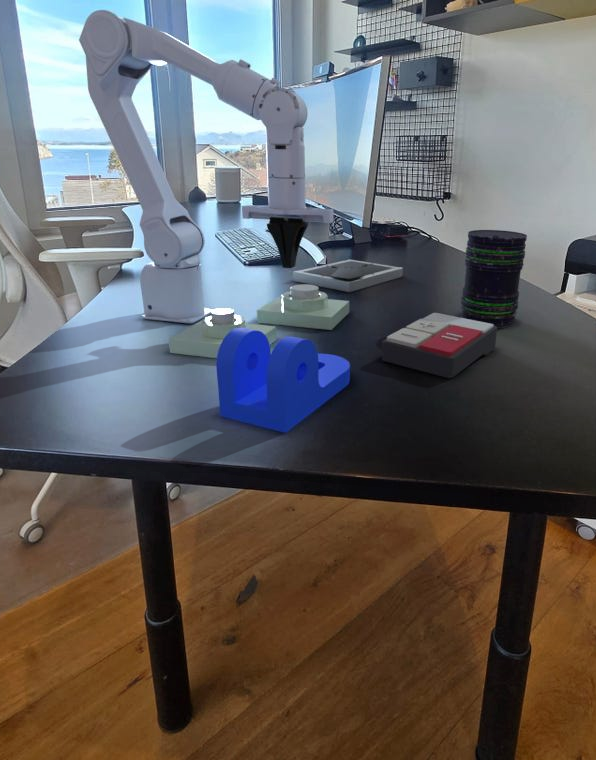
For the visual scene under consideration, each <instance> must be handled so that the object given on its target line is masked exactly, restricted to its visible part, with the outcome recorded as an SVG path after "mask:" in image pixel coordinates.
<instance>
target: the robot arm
mask: <svg viewBox="0 0 596 760" xmlns="http://www.w3.org/2000/svg"><path fill="white" fill-rule="evenodd" d="M78 41H79V44H80V47H81V48H82V50H83V52H84V55H85V62H86V63H85V65H86V79H87V81H86V82H87V90H88V94H89V97H90V99H91V101H92V103H93V106H94V108H95V110H96V112H97V114H98V117H99V119H100V121H101V123H102V125H103V127H104V130H105V132H106V134H107V136H108V138H109V140H110V142H111V145H112V147H113V149H114V151H115V153H116V155H117V157H118V160H119V162H120V164H121V166H122V168H123V170H124V173H125V175H126V177H127V180H128V181H129V183H130V186H131V188H132V190H133V192H134V195H135V196H136V199H137V201H138V202H139V206H140V207H141V210H142V213H141V216H140V221H139V227H140V229H141V231H142V234H143V246H144V250H145V253H146V255H147V257H148V258H149V259H150V260H151V261H152V262H148V263H146V264H145V265H144V266H143V268H141V272H140V276H139V284H140V291H141V298H142V305H143V312H144V314H143V315H141V318H142V320H153V321H161V322H162V321H163V322H170V323H171V322H172V323H182V324H194V323H197V322H198V321H201V320H202V319H204V318H206V317H208V316H210V315H211V311H212V310H215V309H214V308H208V307H205V299H204V289H203V277H202V266H201V265H202V264H201V259H200V254H201V252H203V250H204V248H205V234H204V233H203V230H202V228H201V227H200V225H198V224H197V223H196V222H194V220H193V219H192V218H191V217H192V216H190V214H189V211H188V210H187V209H186V208H185V207H184V206H183V204H181V203H180V202H179V201H178V200H177V199H176V197H175V195H174V192H173V191H172V188H171V186H170V183H169V181H168V179H167V177H166V175H165V171H164V169H163V168H162V165H161V163H160V160H159V158H158V156H157V154H156V152H155V149H154V147H153V145H152V142H151V140H150V138H149V136H148V133H147V131H146V129H145V127H144V124H143V121H142V120H141V117H140V115H139V112H138V111H137V108H136V106H135V103H134V102H133V94H134V92H135V90H136V87H137V86H138V84H139V83H140V82H141V81H142V79H143V78H145V76H146V74H148V72H149V71H150V70H151V69H152V68H153V67H154V65H155V66H158V67H162V66H164V65H166V64H167V65H170V66H172V67H173V68H176V69H178V70H181V71H182V72H185V73H187V74H188V75H190V76H193V77H194V78H197V79H198V80H200V81H202V82H204V83H207V84H209V85H210V86H212V88H213V90H214V93H215V95H216V97H217V99H218V100H219V101H221V102H222V103H224V104H226V105H228V106H230V107H232V108H234V109H236V110H237V111H239V112H241V113H242V114H245V115H247V116H249V117H251V118H252V119H254V120H256V121H261V123H262V124H263V126H264V127H265V140H266V142H265V152H266V153H265V155H266V173H267V174H266V176H267V179H266V180H267V199H268V201H267V203H268V205H259V204H257V205H256V204H255V205H253V204H246V205H241V216H242V219H244V220H248V219H249V220H250V219H253V220H254V219H255V220H269V222H268V223H266V228H267V231H268V232H269V233H270V236H271V238H272V239H273V241H274V243H275V246H276V249H277V250H278V253H279V257H280V261H281V264H282V268H283V269H292V268H295V267H296V263H297V256H298V252H299V248H300V245H301V242H302V239H303V237H304V236H305V235H304V234H305V233H306V230H307V229H308V226H309V223H323V224H332V223H334V208H333V209H332V208H319V207H309V206H307V205H306V203H307V202H306V157H305V156H306V154H305V153H306V152H305V151H306V150H305V148H306V147H305V142H304V141H305V139H304V137H305V134H304V126H305V124H306V122H307V120H308V107H307V104H306V102H305V100H304V98H303V97H302V96H301V95H299V94H298V93H296V92H295V90H293V89H287V88H285V87H280V84H281V81H280V80H278V79H276V78H275V77H271V79H270V78H268V77H266V76H264V75H262V74H260V73H259V72H256V71H255V70H253V69H251V67H252V64H251V63H249V62H247V61H245V60H243V59H241V58H240V59H239V61H236V60H234V59H230V60H227V61H224V62H222V63H219V62H217V61H216V60H214V59H212V58H211V57H209V56H207V55H205V54H203V53H202V52H201V51H198V50H196V49H195V48H193V47H192V46H190V45H188V44H186V43H184V42H183V41H181V40H179V39H177V38H176V37H174V36H172V35H171V34H168V33H167V32H164V31H163V30H159V29H157V28H154V27H153V26H150V25H147V24H144V23H141V22H138V21H136V20H133V19H131V18H127V17H121V16H118V15H117V14H116V13H114V12H112V11H110V10H107V9H98V10H94V11H93V12H91V13H90V14H89V15H88V17H87V18H86V20H85V22H84V25H83V27H82V30H81V33H80V36H79V39H78Z"/></svg>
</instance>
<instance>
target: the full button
mask: <svg viewBox="0 0 596 760" xmlns="http://www.w3.org/2000/svg"><path fill="white" fill-rule="evenodd" d="M289 289H290V290H289V291H291V297H292V298H295V299H313V298H318V297H319V291H320V288H319V286H315V285H310V284H305V283H301V284H294V285H292V286H290V288H289Z"/></svg>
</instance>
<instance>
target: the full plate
mask: <svg viewBox="0 0 596 760" xmlns="http://www.w3.org/2000/svg"><path fill="white" fill-rule="evenodd" d="M349 314H350V301H349V300H341V299H332V298H331V299H329V295H328V294H327V293H326V292H324V291H320V290H319V297H318V298H313V299H295V298H292V297H291V291H290V290H289V291H285V292H284V293H282V294H280V295H279V296H277V297H276V298H275V299H273V300H271V301H270V302H268V303H266V304H265V305H263V306H261V307H260V308H258V309H256V320H257V321H256V322H257V323H258V324H267V325H277V326H287V327H298V328H306V329H307V328H308V329H317V330H326V331H327V330H328V331H332V330H333V329H334V328H335V327H336V326H337V325H338V324H339V323H340V322H341V321H343V319H344V318H345V317H346V316H348V315H349Z"/></svg>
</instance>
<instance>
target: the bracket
mask: <svg viewBox="0 0 596 760" xmlns="http://www.w3.org/2000/svg"><path fill="white" fill-rule="evenodd" d="M215 365H216V366H215V367H216V379H217V380H216V381H217V389H218V391H217V392H218V403H219V413H220V417H221V418H225V419H229V420H233V421H236V422H240V423H241V422H242V423H245V424H248V425H253V426H256V427H260V428H264V429H268V430H272V431H276V432H279V433H284V434H287V433H288V432H289V431H290V430H292V429H293V428H294V427H296V426H298V424H300V423H301V422H302V421H304V420H305V419H307V417H309V416H310V415H311V414H313V413H314V412H315V411H316V410H318V409H319V408H320V407H321V406H323V405H324V404H325V403H327V402H328V401H329V400H330V399H332V398H333V397H334V396H335V395H337V394H338V393H340V392H342V390H343V389H344V388H346V387H347V386H348V385H349V384H350V380H351V363H350V362H349V360H347V359H346V358H344V357H342V356H339V355H335V354H330V353H318V349H317V347H316V345H315V344H314V342H313V341H312V340H310V339H308V338H307V339H306V338H301V337H296V336H295V337H294V336H284V337H282V338H281V339H280V340H279V341H278V342H277V343H276V344H275V345H274V347H273V349H272V351H271V345H269V341H268V339H267V337H266V336H265V335H264V334H263V333H262V332H260V331H257V330H251V329H246V328H236V329H233V330H232V331H230V332H229V333H228V334H227V335H226V337H225V338H224V339H223V341H222V343H221V345H220V348H219V351H218V355H217V358H216V362H215Z"/></svg>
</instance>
